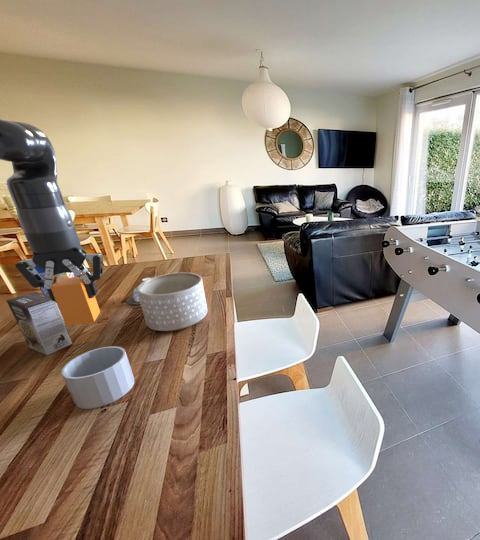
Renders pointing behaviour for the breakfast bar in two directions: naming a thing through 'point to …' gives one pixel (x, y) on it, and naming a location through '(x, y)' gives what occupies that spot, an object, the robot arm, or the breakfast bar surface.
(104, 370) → the ceramic bowl
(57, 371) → the breakfast bar surface
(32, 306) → the coffee box
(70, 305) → the juice carton
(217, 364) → the breakfast bar surface
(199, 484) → the breakfast bar surface
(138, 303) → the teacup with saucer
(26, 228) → the robot arm
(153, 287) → the planter
